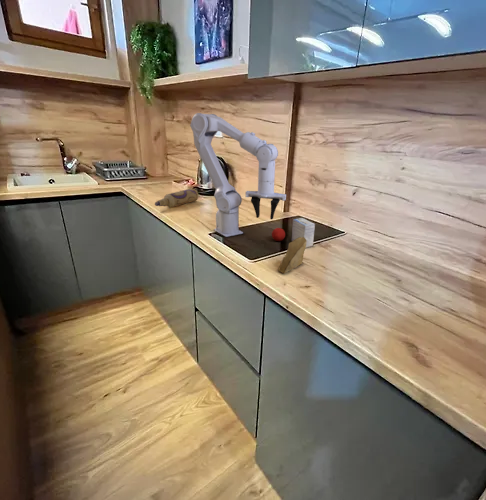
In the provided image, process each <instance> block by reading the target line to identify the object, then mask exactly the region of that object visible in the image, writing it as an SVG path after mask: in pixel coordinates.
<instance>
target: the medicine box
mask: <svg viewBox="0 0 486 500" xmlns="http://www.w3.org/2000/svg"><path fill="white" fill-rule="evenodd" d="M315 227H316V223H314V222H312V221H310V220H308V219H306V218H303V217H299V218H294V219H292V228H291V229H292V231H291V242H292V241H293V240H295V239H297V238H299V237H301V238H302V237H304V238H305V239H306V241H307V243H306V248H309V247H313V246H314V238H315Z"/></svg>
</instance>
